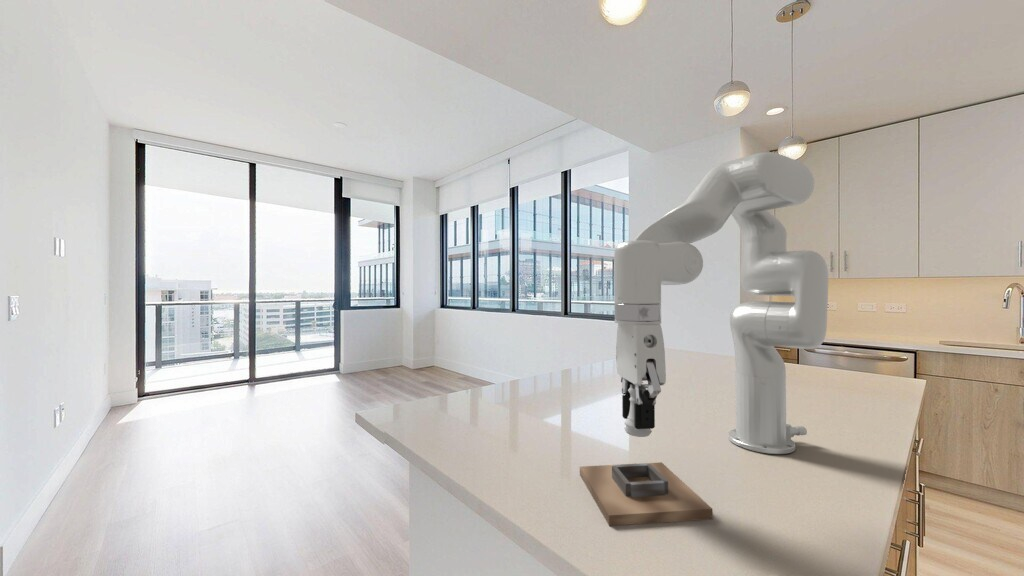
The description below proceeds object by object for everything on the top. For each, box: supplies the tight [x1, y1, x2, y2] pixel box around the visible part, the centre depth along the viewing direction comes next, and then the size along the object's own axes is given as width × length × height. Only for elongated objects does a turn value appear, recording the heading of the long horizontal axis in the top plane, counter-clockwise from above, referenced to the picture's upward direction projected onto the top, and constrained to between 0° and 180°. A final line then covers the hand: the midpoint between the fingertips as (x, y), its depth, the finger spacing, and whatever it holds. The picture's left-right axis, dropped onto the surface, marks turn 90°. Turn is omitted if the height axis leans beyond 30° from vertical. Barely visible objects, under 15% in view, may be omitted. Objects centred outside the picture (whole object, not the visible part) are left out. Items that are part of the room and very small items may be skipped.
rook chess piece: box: [623, 384, 653, 438], centre depth 66 cm, size 4×4×8 cm
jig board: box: [579, 461, 714, 527], centre depth 66 cm, size 16×16×4 cm
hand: (637, 421), depth 66 cm, fingers closed on rook chess piece, 4 cm apart
